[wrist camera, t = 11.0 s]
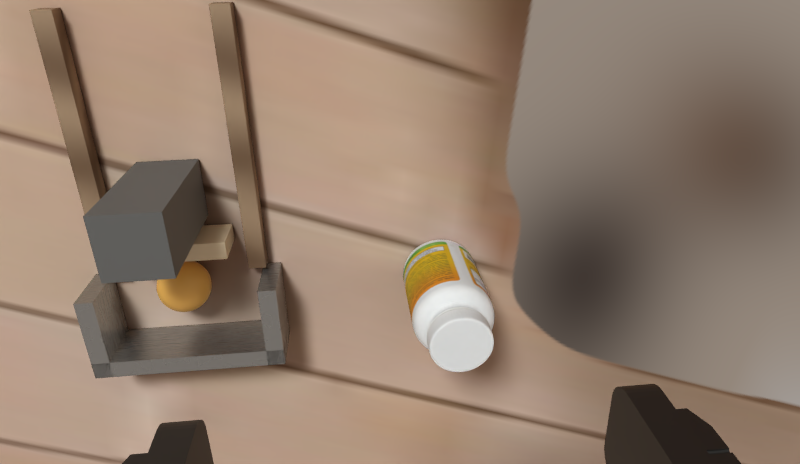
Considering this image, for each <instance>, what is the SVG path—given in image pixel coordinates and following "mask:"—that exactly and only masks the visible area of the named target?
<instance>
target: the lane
mask: <svg viewBox="0 0 800 464" xmlns="http://www.w3.org/2000/svg"><path fill="white" fill-rule="evenodd" d="M209 9H210V15H211V22H212V29H213V35H214V42H215V48H216V55H217V62H218V68H219V75H220V82H221V88H222V95H223V101H224V108H225V115H226V121H227V128H228V134H229V141H230V148H231V154H232V161H233V168H234V174H235V181H236V187H237V194H238V201H239V207H240V214H241V220H242V227H243V234H244V240H245V247H246V253H247V260H248V267H249V268H265V267H266V266H267V261H268V256H267V249H266V242H265V234H264V227H263V219H262V212H261V204H260V197H259V190H258V182H257V175H256V167H255V160H254V153H253V145H252V138H251V130H250V123H249V115H248V108H247V101H246V93H245V86H244V78H243V71H242V64H241V56H240V49H239V41H238V34H237V27H236V19H235V12H234V4H233V2H217V3H211V4H209ZM29 11H30V15H31V18H32V22H33V26H34V29H35V33H36V37H37V41H38V44H39V48H40V52H41V55H42V59H43V63H44V66H45V70H46V74H47V77H48V81H49V85H50V88H51V92H52V96H53V99H54V103H55V107H56V111H57V114H58V118H59V122H60V125H61V129H62V133H63V136H64V140H65V144H66V147H67V151H68V155H69V158H70V162H71V166H72V170H73V173H74V177H75V181H76V184H77V188H78V192H79V195H80V199H81V203H82V206H83V210H84V214H86V213H87V212H88V211H89V210H90V209H91V208H92V207H93V206H94V205H95V204H96V203H97V202H98V201H99V200H100V199H101V198H102V197H103V196H104V195H105V194H106V189H105V185H104V181H103V177H102V173H101V169H100V165H99V161H98V157H97V153H96V149H95V145H94V141H93V137H92V133H91V129H90V125H89V121H88V117H87V113H86V109H85V105H84V101H83V97H82V93H81V89H80V85H79V81H78V77H77V73H76V69H75V65H74V61H73V57H72V53H71V49H70V45H69V41H68V37H67V33H66V29H65V25H64V21H63V17H62V13H61V9H60V8H40V9H34V10H29Z"/></svg>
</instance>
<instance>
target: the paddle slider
mask: <svg viewBox="0 0 800 464" xmlns="http://www.w3.org/2000/svg"><path fill="white" fill-rule="evenodd" d="M207 216H208V210H207V204H206V199H205V193H204V187H203V182H202V176H201V170H200V165H199V159H189V160H170V161H151V162H136V163H135V164H134V165H133V166H132V167H131V168H130V169H129V170H128V171H127V172H126V173H125V174H124V175H123V176H122V177H121V178H120V179H119V180H118V182H117V183H116V184H115V185H114V186H113V187H112V188H111V189H110V190H109V191H108V192H107V193H106V194H105V195H104V196H103V197H102V198H101V199H100V200H99V201H98V202H97V203H96V204H95V205H94V206H93V207H92V208H91V209H90V210H89V211H88V212H87V213H86V214H85V215H84V216H83V218H84V222H85V226H86V229H87V233H88V237H89V240H90V244H91V247H92V251H93V255H94V258H95V262H96V266H97V269H98V273H99V277H100V280H101V283H116V282H132V281H147V280H162V279H176V277H177V275H178V273H179V271H180V269H181V268H182V266H183V264H184V262H188V261H203V260H219V259H227V258H228V256H229V253H230V250H231V248H232V245H233V242H234V240H235V239H234V233H233V226H232V224H221V225H205V226H203V224H204V222H205V220H206V218H207Z"/></svg>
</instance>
